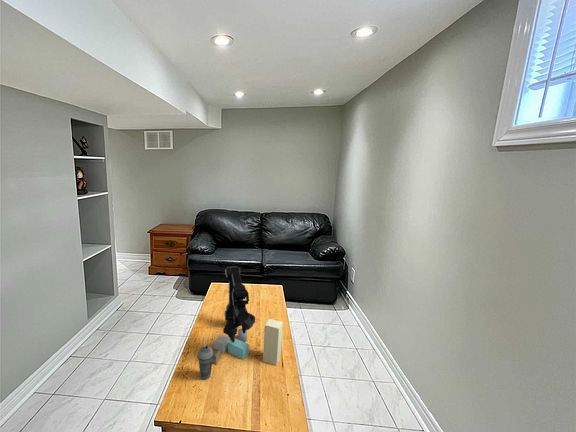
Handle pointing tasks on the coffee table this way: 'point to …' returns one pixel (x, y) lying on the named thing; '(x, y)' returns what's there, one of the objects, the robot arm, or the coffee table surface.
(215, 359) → the walnut cube
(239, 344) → the teal long brick
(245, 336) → the grey cylinder
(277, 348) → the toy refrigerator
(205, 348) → the beverage cup
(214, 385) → the coffee table surface
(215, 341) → the grey square brick
